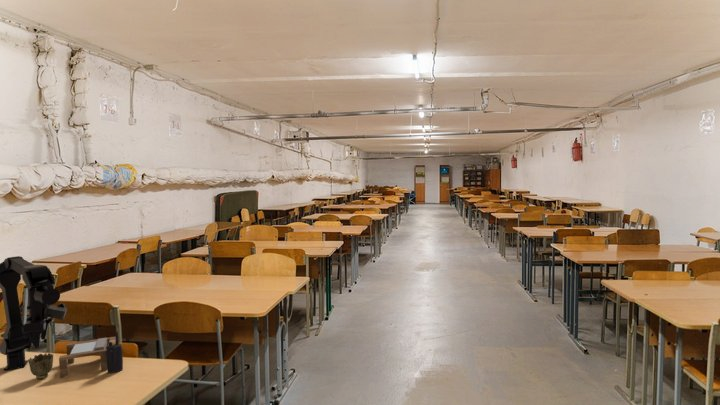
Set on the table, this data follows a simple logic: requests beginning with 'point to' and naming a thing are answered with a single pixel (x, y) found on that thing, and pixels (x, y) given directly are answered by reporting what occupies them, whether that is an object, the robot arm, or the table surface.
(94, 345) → the trapdoor
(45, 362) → the brass rounded piece
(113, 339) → the frame
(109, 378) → the table surface
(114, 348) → the two-way radio
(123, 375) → the table surface
